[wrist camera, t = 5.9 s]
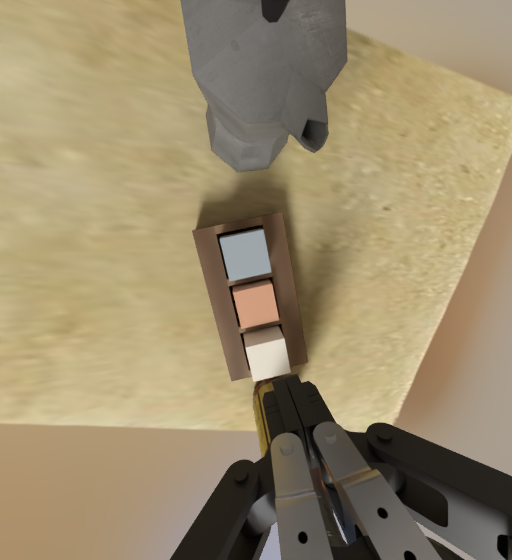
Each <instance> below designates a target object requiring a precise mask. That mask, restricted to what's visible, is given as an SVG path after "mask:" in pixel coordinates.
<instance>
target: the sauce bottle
mask: <svg viewBox="0 0 512 560" xmlns="http://www.w3.org/2000/svg"><path fill="white" fill-rule="evenodd" d="M276 379H280V378H276V377H275V378H274V377H272V378H268V379H266V380H264V381H263V382H261V383H260V384H259V385H258V386H257V387H256V388H255V390H254V394H253V410H254V415H255V421H256V426H257V432H258V438H259V443H260V450H261V456H262V458H263V457H264V456H265V455H266V453H267V452H268V450H269V448H270V442H271V441H270V436H269V431H268V426H267V421H266V416H265V412H264V407H263V402H262V399H263V396H264V393H265V392H269V391H273V387H272V383H271V381H272V380H276ZM309 463H310V462H309ZM310 468H311V470H309V472H310V476H311V479H312V483H313V487H314V490H315V492H316V495H317V499H318V503H319V507H320V511H321V514H322V518H323V522H324V526H325V530H326V533H327V537H328V541H329V545H330V546H334V547H347V546H348V545H347V544H346V542H345V541H344V540H343V538H342V535H341V533H340V530H339V527H338V525H337V523H336V520H335V517H334V515H333V509H332V506H331V504H330V502H329V499H328V497H327V495H326V493H325V491H324V488H323V486H322V481H321V476H320V473H319V470H318V468H314V469H312V467H311V464H310Z"/></svg>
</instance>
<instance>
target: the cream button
mask: <svg viewBox="0 0 512 560" xmlns="http://www.w3.org/2000/svg"><path fill="white" fill-rule="evenodd" d="M243 334H244V341H245V348H246V352H247V357H248V361H249V365H250V369H251V374H252V378H253V382H255V381H259V380H263V379H267V378H271V377H275V376H279V375H283V374H287V373H291V370H290V365H289V360H288V355H287V349H286V344H285V339H284V337H283V334H282V332H281V330H280V328H279V326H278V324H277V325H273V326H269V327H265V328H260V329H256V330H252V331H248V332H243Z"/></svg>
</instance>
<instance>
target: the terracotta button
mask: <svg viewBox="0 0 512 560" xmlns="http://www.w3.org/2000/svg"><path fill="white" fill-rule="evenodd" d="M232 286H233V295H234V299H235V303H236V308H237V312H238V316H239V320H240V325H241V329H244V328H248V327H252V326H256V325H261V324H265V323H269V322H273V321H278V320H279V316H278V311H277V306H276V301H275V296H274V291H273V286H272V283H271V281H270V280H269V279H268V278H263V279H259V280H254V281H250V282H245V283H241V284H237V285H232Z"/></svg>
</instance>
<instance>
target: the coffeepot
mask: <svg viewBox="0 0 512 560" xmlns="http://www.w3.org/2000/svg"><path fill="white" fill-rule="evenodd" d="M181 6H182V12H183V18H184V24H185V30H186V36H187V43H188V49H189V55H190V61H191V67H192V73H193V77H194V78H195V80H196V82H197V84H198V86H199V88H200V90H201V92H202V93H203V95H204V97H205V99H206V101H207V103H208V108H207V112H206V118H207V124H208V131H209V137H210V143H211V150H212V151H213V152H214V153H215V154H216V155H218V156H219V157H220V158H221V159H222V160H223V161H224V162H225V163H227V164H228V165H230V166H231V167H232V168H233V169H234V170H236V171H237V172H242V171H253V170H259V169H267V168H269V166H270V165H271V164H272V162H273V161H274V160H275V158H276V157H277V155H278V154H279V153H280V151H281V150H282V148H283V147H284V146H285V144H286V143H287V140H288V135H289V134H291V135H293V136H294V137H295V138H296V139H297V140H298V142H299V143H300V144H301V145H302V146H303V147H304V148H305V149H307V150H309V151H311V152H313V153H315V152H316V151H318V150H320V149H321V148H322V147H323V145H324V144H325V141H326V139H327V136H328V134H329V133H328V125H327V124H328V116H327V105H326V95H325V92H326V91H327V89H328V88H329V87H330V85H331V84H332V83H333V81H334V80H335V78H336V77H337V76H338V74H339V73H340V71H341V70H342V68H343V67H344V65H345V64H346V62H347V37H346V11H345V0H181Z"/></svg>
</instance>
